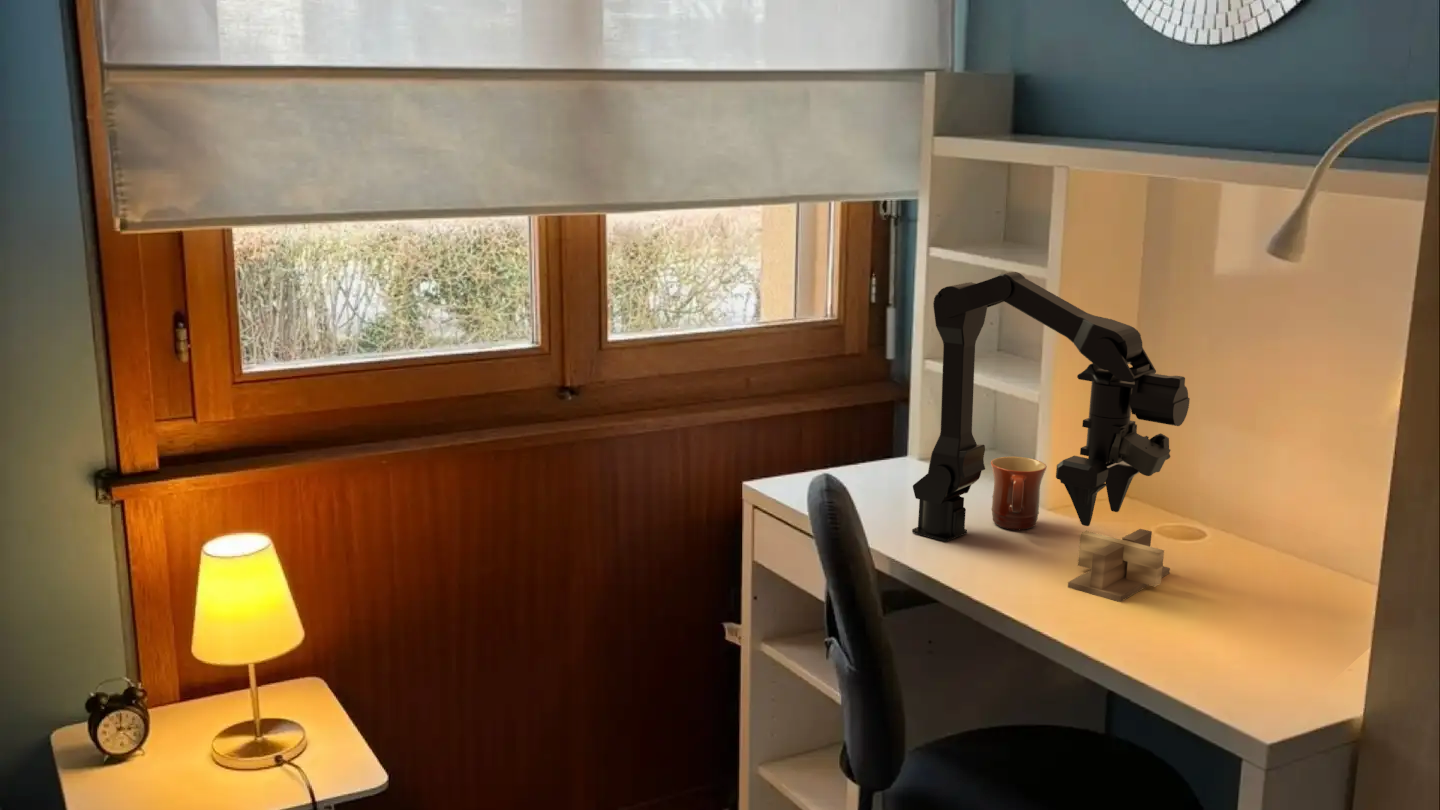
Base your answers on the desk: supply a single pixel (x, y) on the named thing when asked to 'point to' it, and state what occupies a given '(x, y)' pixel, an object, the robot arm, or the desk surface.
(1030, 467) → the mug
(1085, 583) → the joint base
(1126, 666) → the desk surface
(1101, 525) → the desk surface
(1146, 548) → the oak plate
